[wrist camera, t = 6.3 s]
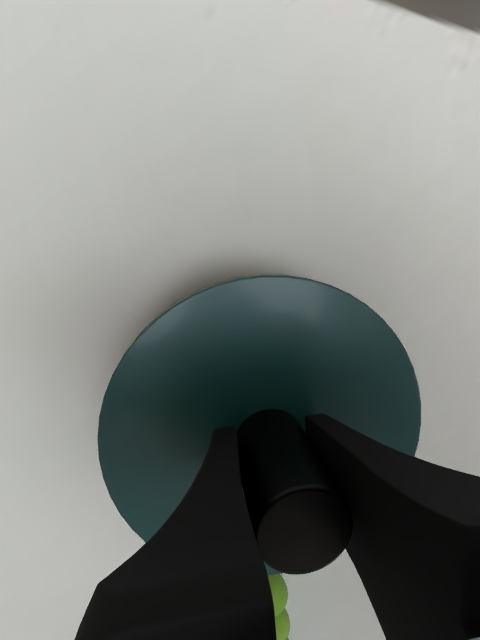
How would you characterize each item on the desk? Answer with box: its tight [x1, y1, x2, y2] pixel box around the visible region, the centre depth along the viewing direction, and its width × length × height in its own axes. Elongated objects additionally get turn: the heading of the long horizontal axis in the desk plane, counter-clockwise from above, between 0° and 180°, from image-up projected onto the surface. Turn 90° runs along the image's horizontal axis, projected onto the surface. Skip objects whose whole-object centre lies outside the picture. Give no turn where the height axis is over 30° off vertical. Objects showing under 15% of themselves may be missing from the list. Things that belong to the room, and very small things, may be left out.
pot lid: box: [98, 274, 421, 575], centre depth 11 cm, size 11×11×5 cm
